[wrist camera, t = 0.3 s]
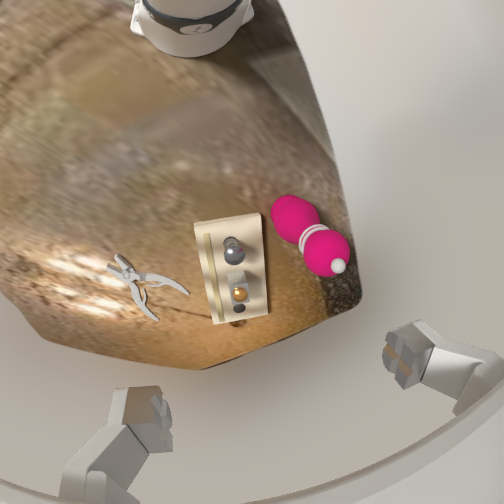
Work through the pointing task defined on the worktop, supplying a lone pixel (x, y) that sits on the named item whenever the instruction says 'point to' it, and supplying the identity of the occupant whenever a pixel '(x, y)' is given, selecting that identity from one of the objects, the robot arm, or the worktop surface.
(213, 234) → the board
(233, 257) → the fixed leg
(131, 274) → the pliers
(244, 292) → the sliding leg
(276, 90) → the worktop surface
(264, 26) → the worktop surface
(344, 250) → the pepper mill
